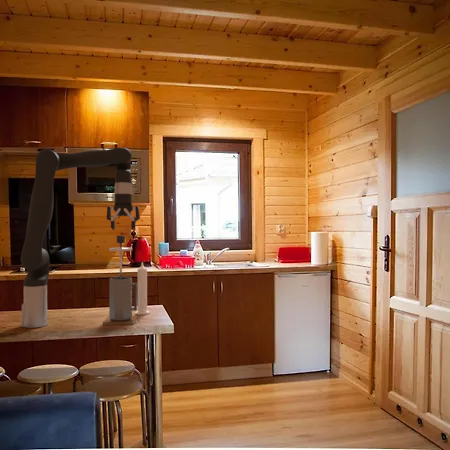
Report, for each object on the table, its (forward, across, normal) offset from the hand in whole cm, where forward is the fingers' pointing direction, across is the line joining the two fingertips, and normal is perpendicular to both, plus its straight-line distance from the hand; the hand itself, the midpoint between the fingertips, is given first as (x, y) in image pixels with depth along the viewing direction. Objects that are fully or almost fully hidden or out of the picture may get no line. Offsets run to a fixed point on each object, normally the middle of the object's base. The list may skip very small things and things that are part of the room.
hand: (123, 229), depth 194 cm
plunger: (+26, -1, 0) cm, 26 cm away
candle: (+41, +5, +18) cm, 45 cm away
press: (+41, -1, 0) cm, 41 cm away
